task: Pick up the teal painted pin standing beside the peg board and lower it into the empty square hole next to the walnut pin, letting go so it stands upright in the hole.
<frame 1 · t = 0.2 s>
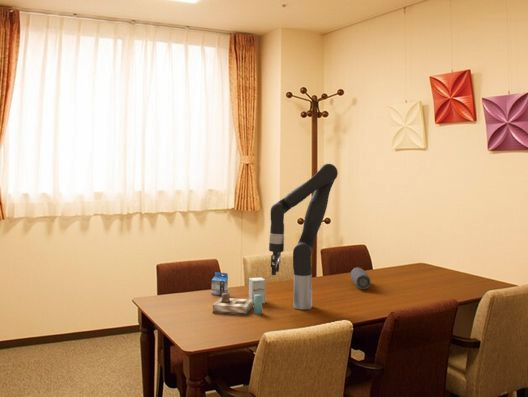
hand: (275, 273, 262), 17 cm above the table, tool pointing down, fingers open, 8 cm apart
supplement box: (257, 302, 272), on the table
teal pin: (258, 313, 251), on the table
label tape box: (219, 295, 288), on the table
bluetooth speaker: (360, 287, 307), on the table
peg board: (233, 310, 257), on the table
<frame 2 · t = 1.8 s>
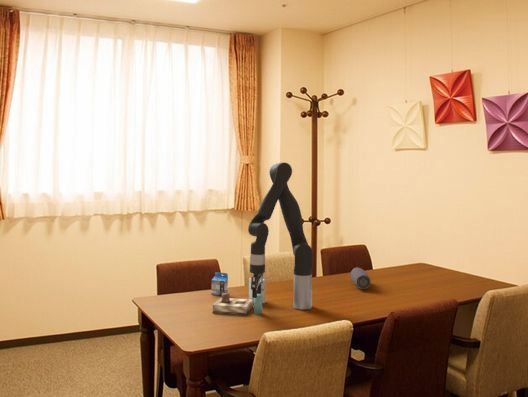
hand: (256, 295, 251), 9 cm above the table, tool pointing down, fingers open, 8 cm apart
nothing on the table moved.
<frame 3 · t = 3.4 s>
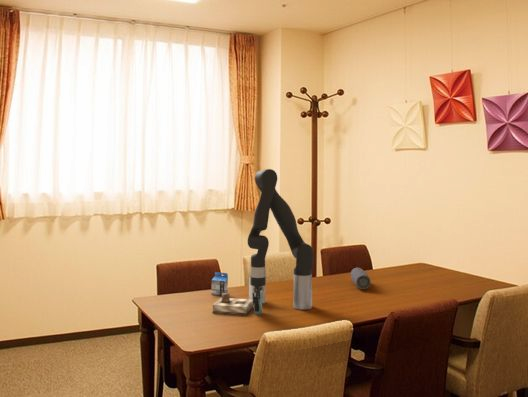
hand: (258, 309, 251), 2 cm above the table, tool pointing down, fingers closed on teal pin, 4 cm apart
teal pin: (258, 313, 251), on the table, touching gripper
everything else where it was.
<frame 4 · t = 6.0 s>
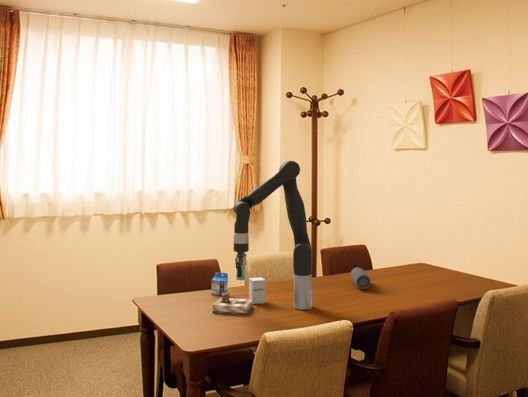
hand: (240, 275, 255), 18 cm above the table, tool pointing down, fingers closed on teal pin, 4 cm apart
teal pin: (240, 279, 255), point 16 cm above the table, touching gripper
everything else where it was.
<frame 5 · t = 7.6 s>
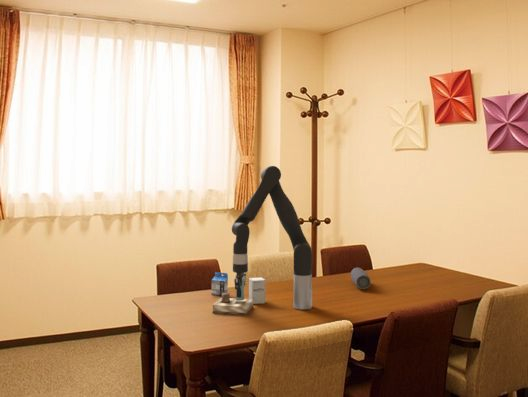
hand: (240, 296, 256), 7 cm above the table, tool pointing down, fingers closed on teal pin, 4 cm apart
teal pin: (240, 299, 256), point 6 cm above the table, touching gripper
everything else where it was.
when the fingers open (5 cm above the table, at t = 8.7 s): teal pin drops 2 cm, resting on peg board.
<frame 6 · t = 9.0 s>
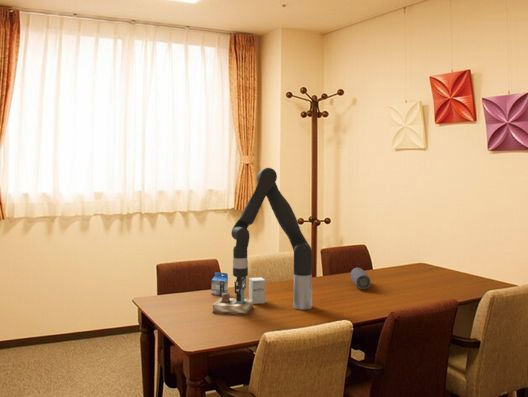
hand: (240, 299, 256), 6 cm above the table, tool pointing down, fingers open, 6 cm apart
teal pin: (240, 308, 256), point 1 cm above the table, touching peg board
everything else where it was.
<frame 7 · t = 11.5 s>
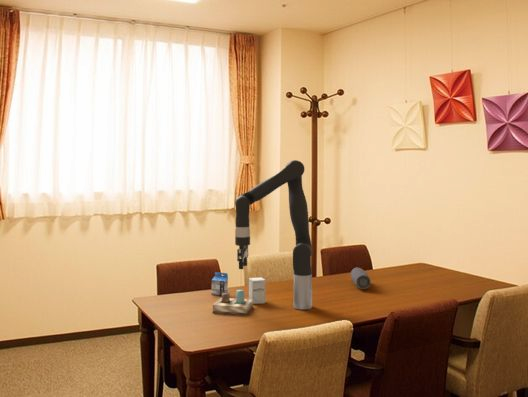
hand: (243, 267, 258), 21 cm above the table, tool pointing down, fingers open, 8 cm apart
nothing on the table moved.
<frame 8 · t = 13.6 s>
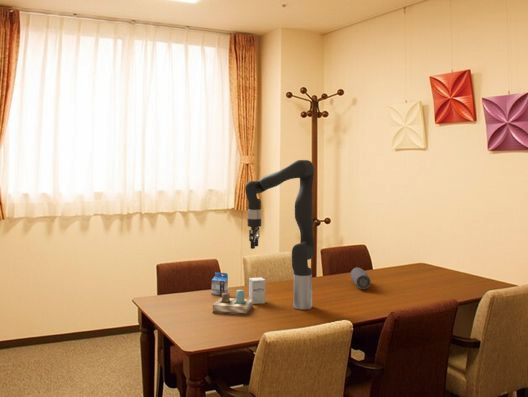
hand: (254, 247, 278), 28 cm above the table, tool pointing down, fingers open, 8 cm apart
nothing on the table moved.
at the end: teal pin 0.1 cm from the target spot on the peg board, point 1.0 cm above the peg board's base; teal pin tilted 0°; the gripper is holding nothing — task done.
